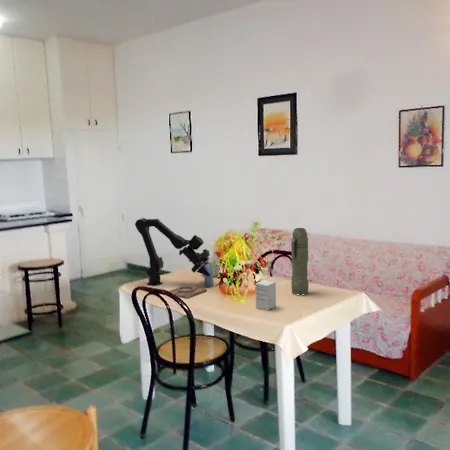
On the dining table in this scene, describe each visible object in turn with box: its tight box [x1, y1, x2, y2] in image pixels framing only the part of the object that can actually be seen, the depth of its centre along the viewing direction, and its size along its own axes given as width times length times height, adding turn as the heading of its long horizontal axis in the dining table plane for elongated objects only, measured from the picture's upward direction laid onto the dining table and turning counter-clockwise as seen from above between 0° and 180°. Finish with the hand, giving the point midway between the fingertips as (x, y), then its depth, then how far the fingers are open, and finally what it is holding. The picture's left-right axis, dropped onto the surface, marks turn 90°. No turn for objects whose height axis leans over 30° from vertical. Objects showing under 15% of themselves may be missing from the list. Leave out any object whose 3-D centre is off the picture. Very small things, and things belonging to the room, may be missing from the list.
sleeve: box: [203, 263, 214, 288], centre depth 279 cm, size 5×5×13 cm
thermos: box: [290, 227, 309, 296], centre depth 260 cm, size 9×12×35 cm
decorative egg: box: [208, 251, 221, 278], centre depth 303 cm, size 12×12×15 cm
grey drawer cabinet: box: [255, 279, 277, 311], centre depth 239 cm, size 7×7×13 cm
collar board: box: [169, 284, 208, 300], centre depth 268 cm, size 16×16×2 cm
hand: (210, 274), depth 279 cm, fingers closed on sleeve, 5 cm apart
